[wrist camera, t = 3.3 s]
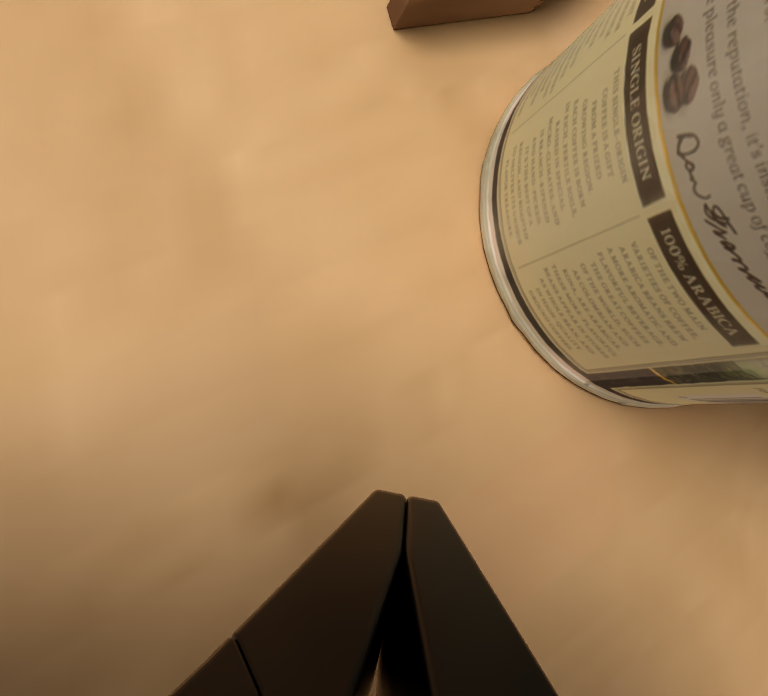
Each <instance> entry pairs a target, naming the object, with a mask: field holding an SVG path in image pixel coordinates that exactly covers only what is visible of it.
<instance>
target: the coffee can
mask: <svg viewBox="0 0 768 696" xmlns="http://www.w3.org/2000/svg"><path fill="white" fill-rule="evenodd" d="M480 226H481V233H482V239H483V244H484V250H485V254H486V258H487V262H488V265H489V268H490V271H491V274H492V277H493V280H494V283H495V285H496V288H497V290H498V292H499V295H500V296H501V298H502V300H503V302H504V304H505V306H506V308H507V310H508V312H509V314H510V316H511V318H512V320H513V322H514V323H515V325H516V326H517V327H518V328H519V329H520V331H521V332H522V333H523V334H524V335H525V337H526V338H527V339H528V341H529V342H530V343H531V344H532V346H533V347H534V348H535V349H536V351H537V352H538V353H539V354H540V355H541V356H542V357H543V358H544V359H545V360H546V361H547V362H548V363H549V364H550V365H551V366H552V367H553V368H554V369H556V370H557V371H558V372H559V373H561V374H562V375H563V376H565V377H566V378H567V379H569V380H570V381H572V382H573V383H575V384H576V385H578V386H580V387H581V388H583V389H585V390H587V391H589V392H591V393H593V394H595V395H598V396H600V397H602V398H605V399H607V400H610V401H614V402H617V403H619V404H621V405H629V406H636V407H644V408H669V407H677V406H682V405H691V404H755V403H768V0H616V1H615V2H614V3H613V4H612V5H611V6H610V7H609V8H608V9H607V10H606V11H605V12H604V13H603V14H602V15H601V16H600V17H598V18H597V19H596V20H595V21H594V22H593V23H592V24H591V25H590V26H589V27H588V28H587V29H586V30H585V31H584V32H583V33H582V34H581V35H580V36H579V37H578V38H577V39H576V40H575V41H574V42H573V43H572V44H571V45H570V46H569V47H568V48H567V49H566V50H565V51H564V52H563V53H562V54H561V55H560V56H559V57H558V58H557V59H556V60H554V61H553V62H552V63H551V64H550V65H549V66H547V67H546V68H544V69H543V70H541V71H540V72H539V73H538V74H536V75H535V76H534V77H533V78H532V79H531V80H530V81H529V82H528V83H527V84H525V85H524V86H523V87H522V89H521V90H520V91H519V92H518V93H517V94H516V96H515V97H514V98H513V100H512V101H511V103H510V104H509V105H508V107H507V108H506V110H505V111H504V113H503V115H502V117H501V119H500V121H499V122H498V124H497V126H496V129H495V131H494V133H493V136H492V138H491V141H490V144H489V147H488V150H487V153H486V156H485V160H484V163H483V166H482V173H481V185H480Z"/></svg>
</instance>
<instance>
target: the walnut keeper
mask: <svg viewBox="0 0 768 696" xmlns="http://www.w3.org/2000/svg"><path fill="white" fill-rule="evenodd" d="M543 1H544V0H390V1H389V3H388V6H387V9H388V12H389V15H390V19H391V22H392V26H393V29H401V28H409V27H417V26H424V25H432V24H440V23H448V22H456V21H463V20H471V19H479V18H487V17H495V16H503V15H510V14H518V13H526V12H531V11H532V10H533V8H534V9H536V8H537V7H538V6H539V5H540V4H541V3H542V2H543Z"/></svg>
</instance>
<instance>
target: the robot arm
mask: <svg viewBox="0 0 768 696" xmlns="http://www.w3.org/2000/svg"><path fill="white" fill-rule="evenodd" d="M379 654H380V655H379ZM378 658H379V663H378ZM377 663H378V674H377V695H376V696H558V694H557V693H556V691H555V689H554V688H553V686H552V685H551V683H550V681H549V680H548V678H547V677H546V675H545V673H544V672H543V670H542V668H541V667H540V665H539V664H538V662H537V660H536V659H535V657H534V656H533V654H532V652H531V651H530V649H529V647H528V646H527V644H526V643H525V641H524V639H523V638H522V636H521V635H520V633H519V631H518V630H517V628H516V626H515V625H514V623H513V622H512V620H511V618H510V617H509V615H508V614H507V612H506V610H505V609H504V607H503V605H502V604H501V602H500V601H499V599H498V597H497V596H496V594H495V592H494V591H493V589H492V588H491V586H490V584H489V583H488V581H487V580H486V578H485V576H484V575H483V573H482V571H481V570H480V568H479V567H478V565H477V563H476V562H475V560H474V559H473V557H472V555H471V554H470V552H469V550H468V549H467V547H466V546H465V544H464V542H463V541H462V539H461V538H460V536H459V534H458V533H457V531H456V529H455V528H454V526H453V525H452V523H451V521H450V520H449V518H448V517H447V515H446V513H445V512H444V510H443V508H442V507H441V505H440V504H439V503H438V502H437V501H433V500H428V499H423V498H418V497H409V498H408V499H407V501H406V498H405V497H404V496H403V495H402V494H397V493H392V492H387V491H382V490H376V491H374V492H373V493H372V494H371V495H370V496H369V497H368V498H367V499H366V500H365V501H364V502H363V503H362V504H361V505H360V506H359V507H358V508H357V509H356V510H355V511H354V512H353V513H352V514H351V515H350V516H349V517H348V518H347V519H346V520H345V521H344V522H343V523H342V524H341V525H340V526H339V527H338V528H337V529H336V530H335V531H334V532H333V533H332V534H331V535H330V536H329V537H328V538H327V539H326V540H325V541H324V542H323V543H322V544H321V545H320V546H319V547H318V548H317V549H316V550H315V551H314V553H313V554H312V555H311V556H310V557H309V558H308V559H307V560H306V561H305V562H304V563H303V564H302V565H301V566H300V567H299V568H298V569H297V570H296V571H295V572H294V573H293V574H292V575H291V576H290V577H289V578H288V579H287V580H286V581H285V582H284V583H283V584H282V585H281V586H280V587H279V588H278V589H277V590H276V591H275V592H274V593H273V594H272V595H271V596H270V597H269V598H268V599H267V600H266V601H265V602H264V603H263V604H262V605H261V606H260V607H259V608H258V609H257V610H256V611H255V612H254V613H253V614H252V615H251V616H250V617H249V618H248V619H247V620H246V621H245V622H244V623H243V624H242V625H241V626H240V627H239V628H238V629H237V630H236V631H235V632H234V633H233V636H232V638H228V639H227V640H226V641H225V642H224V643H223V644H222V645H221V646H220V647H219V648H218V649H217V650H216V651H215V652H214V653H213V654H212V655H211V656H210V657H209V658H208V659H207V660H206V661H205V662H204V663H203V664H202V665H201V666H200V667H199V668H198V669H197V670H196V671H195V672H194V673H192V674H191V675H190V676H189V677H188V678H187V679H186V680H185V681H184V682H183V683H182V684H181V685H180V686H179V687H178V688H177V689H175V690H174V691H173V692H172V693H171V694H170V695H169V696H369V695H370V691H371V688H372V684H373V680H374V676H375V671H376V667H377Z"/></svg>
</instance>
